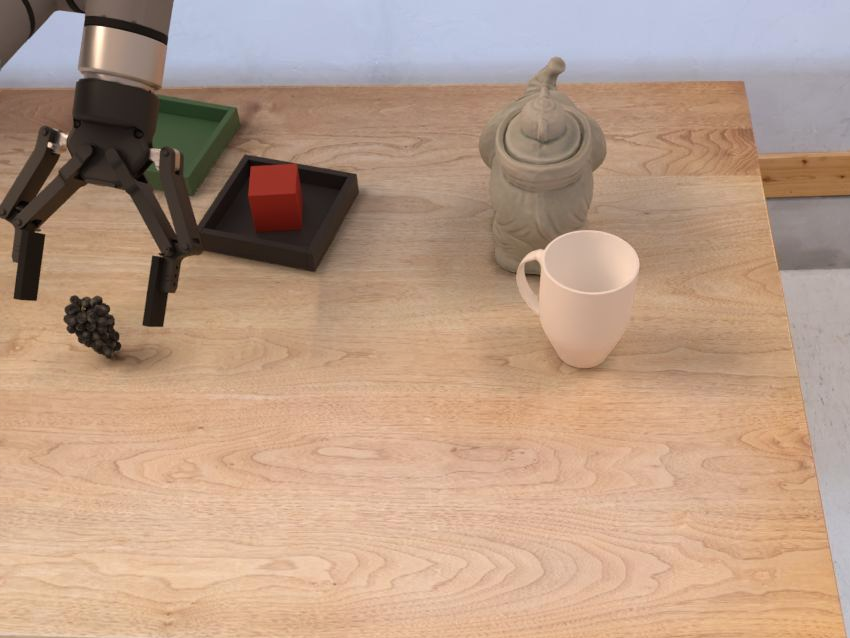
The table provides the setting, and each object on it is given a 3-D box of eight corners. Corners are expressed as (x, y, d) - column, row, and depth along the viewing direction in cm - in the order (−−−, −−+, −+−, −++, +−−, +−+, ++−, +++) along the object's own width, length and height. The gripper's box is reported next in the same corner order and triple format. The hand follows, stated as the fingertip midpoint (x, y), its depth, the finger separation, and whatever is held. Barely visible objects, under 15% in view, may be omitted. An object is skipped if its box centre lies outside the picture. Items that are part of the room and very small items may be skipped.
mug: (642, 340, 111) (656, 248, 102) (600, 397, 107) (611, 307, 97) (539, 297, 115) (544, 205, 106) (495, 351, 111) (496, 260, 101)
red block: (255, 232, 122) (248, 195, 118) (258, 202, 125) (250, 166, 121) (301, 229, 122) (295, 193, 118) (302, 200, 125) (296, 163, 121)
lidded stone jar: (536, 168, 128) (543, 16, 113) (642, 226, 122) (664, 73, 107) (437, 240, 121) (430, 88, 106) (544, 306, 114) (552, 154, 100)
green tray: (85, 176, 129) (79, 158, 127) (139, 108, 137) (133, 89, 135) (192, 196, 127) (188, 177, 125) (241, 125, 135) (237, 107, 132)
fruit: (82, 378, 110) (57, 321, 104) (81, 346, 113) (57, 288, 106) (129, 369, 110) (108, 312, 104) (127, 338, 113) (106, 280, 107)
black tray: (198, 249, 121) (193, 231, 119) (248, 172, 129) (244, 153, 127) (315, 272, 118) (312, 253, 116) (359, 192, 126) (356, 173, 124)
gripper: (259, 113, 104) (225, 337, 107) (24, 75, 109) (-3, 290, 112) (226, 96, 97) (189, 337, 100) (-25, 56, 102) (-52, 287, 105)
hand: (88, 313), depth 106 cm, fingers open, 13 cm apart
